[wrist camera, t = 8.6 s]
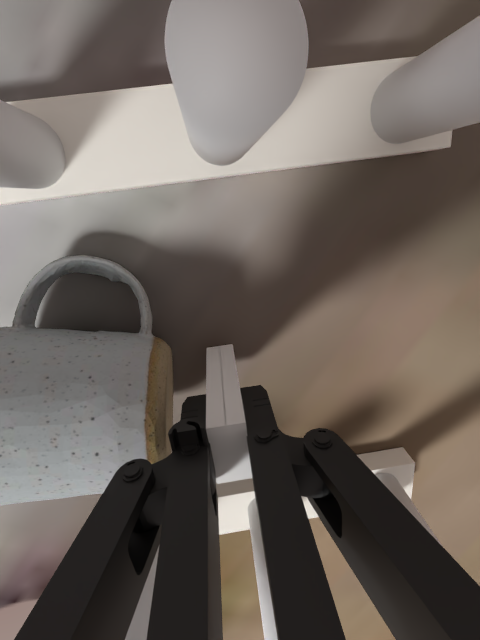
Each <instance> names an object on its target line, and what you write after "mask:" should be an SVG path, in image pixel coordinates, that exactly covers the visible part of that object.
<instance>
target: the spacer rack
mask: <svg viewBox="0 0 480 640" xmlns="http://www.w3.org/2000/svg"><path fill="white" fill-rule="evenodd" d="M308 51H309V40H308V30H307V24H306V19H305V16H304V13H303V9H302V7H301V4H300V2H299V0H172V1H171V4H170V7H169V10H168V14H167V19H166V25H165V53H166V60H167V64H168V69H169V72H170V76H171V79H172V82H173V84H164V85H155V86H146V87H137V88H128V89H119V90H110V91H101V92H93V93H84V94H75V95H66V96H57V97H48V98H39V99H30V100H21V101H12V102H4V101H2V100H0V205H11V204H18V203H26V202H34V201H42V200H50V199H58V198H66V197H73V196H81V195H89V194H97V193H105V192H113V191H121V190H129V189H136V188H144V187H152V186H160V185H168V184H176V183H184V182H191V181H199V180H207V179H215V178H223V177H231V176H239V175H247V174H254V173H262V172H270V171H278V170H286V169H294V168H302V167H310V166H317V165H325V164H333V163H341V162H349V161H357V160H365V159H372V158H380V157H388V156H396V155H404V154H412V153H420V152H428V151H433V150H438V149H443V148H448V147H451V140H452V131H453V130H454V129H457V128H461V127H465V126H469V125H472V124H476V123H480V15H479V16H478V17H476V18H475V19H473V20H472V21H470V22H469V23H467V24H466V25H464V26H463V27H461V28H460V29H458V30H457V31H455V32H454V33H452V34H451V35H449V36H448V37H446V38H444V39H443V40H441V41H440V42H438V43H437V44H435V45H434V46H432V47H431V48H429V49H428V50H426V51H425V52H423V53H422V54H420V55H419V56H414V57H405V58H396V59H387V60H378V61H369V62H360V63H351V64H343V65H334V66H325V67H316V68H307V62H308ZM306 68H307V69H306ZM357 456H358V457H359V458H360V459H361V460H362V461H363V462H364V464H365V465H366V466H367V467H368V468H369V469H370V470H371V471H372V472H373V473H374V474H375V475H376V476H377V477H378V479H379V480H380V481H381V482H382V483H383V484H384V485H385V486H386V487H387V488H388V489H389V490H390V491H391V492H392V493H393V495H394V496H395V497H396V498H397V499H398V500H399V501H400V502H401V503H402V504H403V505H404V506H405V507H406V508H407V509H408V511H409V512H410V513H411V514H412V515H413V516H414V517H415V518H416V519H417V520H418V521H419V522H420V523H421V524H422V525H423V527H424V528H425V529H426V530H427V531H428V532H429V533H430V534H431V535H432V536H433V537H434V538H435V539H436V540H437V541H438V539H437V538H436V536H435V535H434V533H433V532H432V530H431V529H430V527H429V526H428V524H427V523H426V521H425V520H424V518H423V517H422V515H421V514H420V512H419V511H418V509H417V508H416V507H415V505H414V504H413V502H412V501H411V496H412V487H413V478H414V469H415V462H414V461H413V459H412V458H411V457H410V456H409V454H408V453H407V452H406V451H405V449H404V448H403V447H400V448H394V449H388V450H382V451H377V452H371V453H365V454H359V455H357ZM216 490H217V495H218V517H219V535H221V534H226V533H232V532H237V531H243V530H248V529H250V533H251V540H252V548H253V555H254V563H255V570H256V578H257V586H258V593H259V601H260V608H261V616H262V624H263V631H264V639H265V640H278V638H277V632H276V625H275V619H274V613H273V606H272V600H271V594H270V587H269V581H268V575H267V568H266V562H265V555H264V549H263V543H262V536H261V530H260V524H259V517H258V511H257V505H256V499H255V492H254V485H253V478H250V479H244V480H238V481H232V482H226V483H220V484H217V482H216ZM301 497H302V500H303V503H304V507H305V510H306V513H307V516H308V519H309V518H315V517H319V516H318V515H317V513H316V512H315V510H314V508H313V507H312V505H311V504H310V502H309V500H308V498H307V497H303V496H301ZM438 543H439V544H440V542H439V541H438ZM159 545H160V544H159ZM440 545H441V544H440ZM441 546H442V545H441ZM158 552H159V547H158V550H157V552H156V555H155V558H154V561H153V563H152V566H151V569H150V572H149V574H148V577H147V580H146V583H145V585H144V588H143V591H142V594H141V596H140V599H139V602H138V605H137V607H136V610H135V613H134V616H133V618H132V621H131V624H130V627H129V629H128V632H127V635H126V638H125V640H146V639H147V632H148V625H149V617H150V610H151V603H152V596H153V588H154V581H155V574H156V566H157V559H158Z"/></svg>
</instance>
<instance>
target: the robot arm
mask: <svg viewBox="0 0 480 640" xmlns="http://www.w3.org/2000/svg"><path fill="white" fill-rule="evenodd" d="M168 437H169V441H170V444H171V448H172V453H171V454H170V455H169V456H168V457H166V458H164V459H162V460H160V461H158V462H156V463H153V464H151V463H150V462H149V461H148V460H146V459H141V458H140V459H133V460H131V461H129V462H126V463H125V464H124V465H122V466H121V467H120V468H119V469H118V470H117V471H116V473H115V474H114V476H113V478H112V479H111V481H110V483H109V484H108V486H107V487H106V489H105V491H104V492H103V494H102V496H101V497H100V499H99V501H98V502H97V504H96V506H95V507H94V509H93V511H92V512H91V514H90V515H89V517H88V519H87V520H86V522H85V524H84V525H83V527H82V529H81V530H80V532H79V534H78V535H77V537H76V539H75V540H74V542H73V544H72V545H71V547H70V548H69V550H68V552H67V553H66V555H65V557H64V558H63V560H62V562H61V563H60V565H59V567H58V568H57V570H56V572H55V573H54V575H53V576H52V578H51V580H50V581H49V583H48V585H47V586H46V588H45V590H44V591H43V593H42V595H41V596H40V598H39V600H38V601H37V603H36V605H35V606H34V608H33V610H32V611H31V613H30V614H29V616H28V618H27V619H26V621H25V623H24V625H23V626H22V628H21V629H20V631H19V633H18V634H17V636H16V637H15V639H14V640H125V638H126V635H127V632H128V629H129V627H130V624H131V621H132V618H133V616H134V613H135V610H136V607H137V605H138V602H139V599H140V596H141V594H142V591H143V588H144V585H145V583H146V580H147V577H148V574H149V572H150V569H151V566H152V563H153V561H154V558H155V555H156V552H157V550H158V547H159V552H158V559H157V566H156V574H155V581H154V588H153V596H152V603H151V610H150V617H149V625H148V632H147V639H146V640H223V633H222V604H221V575H220V546H219V517H218V495H217V490H216V482H217V484H220V483H226V482H232V481H238V480H244V479H250V478H253V485H254V492H255V499H256V505H257V511H258V517H259V524H260V530H261V536H262V543H263V549H264V555H265V562H266V568H267V575H268V581H269V587H270V594H271V600H272V606H273V613H274V619H275V625H276V632H277V638H278V640H346V639H345V636H344V632H343V629H342V626H341V623H340V619H339V616H338V613H337V610H336V607H335V603H334V600H333V597H332V594H331V590H330V587H329V584H328V581H327V578H326V574H325V571H324V568H323V565H322V561H321V558H320V555H319V552H318V549H317V545H316V542H315V539H314V536H313V532H312V529H311V526H310V523H309V520H308V516H307V513H306V510H305V507H304V503H303V500H302V497H301V496H303V497H307V498H308V500H309V502H310V504H311V505H312V507H313V508H314V510H315V512H316V513H317V515H318V516H319V518H320V520H321V521H322V523H323V524H324V526H325V528H326V529H327V531H328V532H329V534H330V535H331V537H332V539H333V540H334V542H335V543H336V545H337V547H338V548H339V550H340V551H341V553H342V555H343V556H344V558H345V559H346V561H347V563H348V564H349V566H350V567H351V569H352V570H353V572H354V574H355V575H356V577H357V578H358V580H359V582H360V583H361V585H362V586H363V588H364V590H365V591H366V593H367V594H368V596H369V597H370V599H371V601H372V602H373V604H374V605H375V607H376V609H377V610H378V612H379V613H380V615H381V617H382V618H383V620H384V621H385V623H386V625H387V626H388V628H389V629H390V631H391V632H392V634H393V636H394V637H395V639H396V640H480V586H479V585H478V584H477V583H476V582H475V581H474V580H473V579H472V578H471V577H470V576H469V575H468V574H467V572H466V571H465V570H464V569H463V568H462V567H461V566H460V565H459V564H458V563H457V562H456V561H455V560H454V559H453V558H452V556H451V555H450V554H449V553H448V552H447V551H446V550H445V549H444V548H443V547H442V546H441V545H440V544H439V543H438V541H437V540H436V539H435V538H434V537H433V536H432V535H431V534H430V533H429V532H428V531H427V530H426V529H425V528H424V527H423V525H422V524H421V523H420V522H419V521H418V520H417V519H416V518H415V517H414V516H413V515H412V514H411V513H410V512H409V511H408V509H407V508H406V507H405V506H404V505H403V504H402V503H401V502H400V501H399V500H398V499H397V498H396V497H395V496H394V495H393V493H392V492H391V491H390V490H389V489H388V488H387V487H386V486H385V485H384V484H383V483H382V482H381V481H380V480H379V479H378V477H377V476H376V475H375V474H374V473H373V472H372V471H371V470H370V469H369V468H368V467H367V466H366V465H365V464H364V462H363V461H362V460H361V459H360V458H359V457H358V456H357V455H356V454H355V453H354V452H353V451H352V450H351V449H350V448H349V446H348V445H347V444H346V443H345V442H344V441H343V440H342V439H341V438H340V437H339V436H338V435H337V434H336V433H334V432H333V431H331V430H328V429H321V428H318V429H313V430H311V431H309V432H307V433H306V435H305V436H304V438H297V437H291V436H288V435H285V434H284V433H282V432H281V431H280V430H279V429H278V427H277V424H276V420H275V417H274V414H273V411H272V407H271V404H270V401H269V397H268V394H267V391H266V390H265V389H264V388H263V387H262V386H261V385H257V386H251V387H245V388H240V385H239V379H238V373H237V367H236V362H235V356H234V350H233V344H229V345H222V346H216V347H209V348H207V355H206V394H204V395H198V396H191V397H187V399H186V400H185V402H184V403H183V404H182V414H181V420H180V422H178V423H176V424H174V425H173V426H172V427H171V428H170V430H169V432H168ZM159 544H160V545H159Z"/></svg>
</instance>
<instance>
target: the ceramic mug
mask: <svg viewBox="0 0 480 640" xmlns="http://www.w3.org/2000/svg"><path fill="white" fill-rule="evenodd" d="M73 272H78V273H86V274H95V275H100V276H104V277H107V278H108V279H110V280H111V281H114V282H119V281H122V282H124V283H126V284H129V286H130V287H131V289H132V290H133V292H134V294H135V296H136V297H137V299H138V304H139V309H140V315H141V329H140V332H139V333H127V332H109V331H98V332H91V331H79V330H69V329H44V328H36V327H35V320H36V315H37V311H38V309H39V306H40V303H41V301H42V299H43V297H44V295H45V293H46V292H47V290H48V288H49V287H50V286H51V285H52V284H53V283H54V282H55V280H57V279H58V278H59V277H61V276H62V275H64V274H70V273H73ZM172 426H173V361H172V352H171V348H170V347H169V346H168V345H167V343H166V342H165V341H164V340H162V339H160V338H158V337H154V336H153V335H152V313H151V309H150V304H149V300H148V296H147V294H146V292H145V290H144V288H143V287H142V285H141V283H140V282H139V281H138V280H137V279H136V278H135V277H134V276H133V275H132V274H131V273H130V272H129V271H128V270H126V269H125V268H124V267H122V266H120V265H119V264H117V263H115V262H112V261H110V260H107V259H102V258H99V257H94V256H86V255H77V256H67V257H63V258H60V259H58V260H55V261H53V262H51V263H50V264H48V265H47V266H45V267H44V268H43V269H42V270H41V271H40V272H38V273H37V274H36V275H35V276H34V278H33V279H32V280H31V281H30V282H29V284H28V285H27V287H26V289H25V291H24V292H23V294H22V296H21V298H20V301H19V304H18V307H17V309H16V312H15V317H14V320H13V326H12V327H0V505H7V504H15V503H23V502H31V501H41V500H51V499H60V498H67V497H74V496H81V495H89V494H101V493H103V492H104V491H105V489H106V487H107V486H108V484H109V483H110V481H111V479H112V478H113V476H114V474H115V473H116V471H117V470H118V469H119V468H120V467H121V466H122V465H124V464H125V463H126V462H129V461H131V460H133V459H140V458H141V459H146V460H148V461H149V462H150V463H151V464H153V463H156V462H158V461H160V460H162V459H164V458H166V457H168V456H169V455H170V454H171V444H170V441H169V437H168V432H169V430H170V428H171V427H172Z"/></svg>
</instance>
